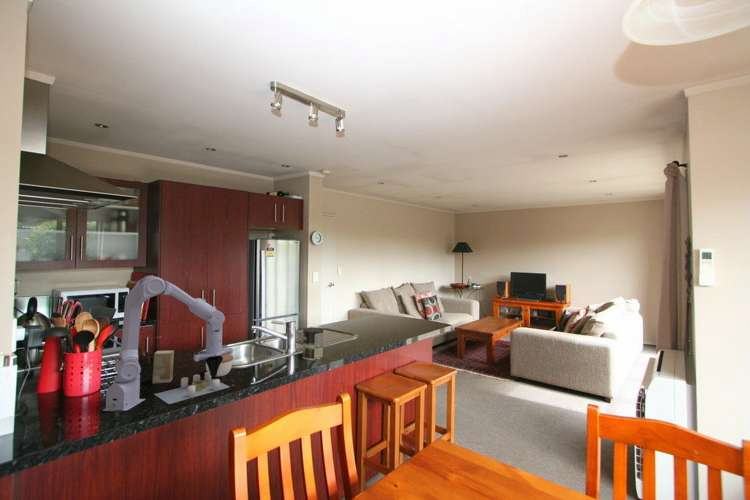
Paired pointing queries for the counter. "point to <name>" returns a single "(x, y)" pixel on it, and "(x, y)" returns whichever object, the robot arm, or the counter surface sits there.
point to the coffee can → (312, 343)
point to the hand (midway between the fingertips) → (213, 375)
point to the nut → (199, 385)
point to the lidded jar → (223, 365)
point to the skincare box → (163, 366)
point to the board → (184, 393)
